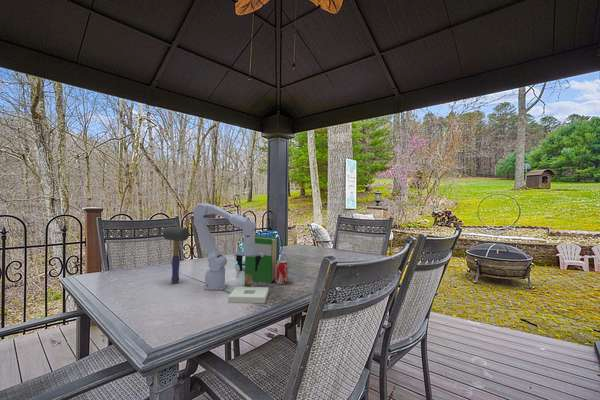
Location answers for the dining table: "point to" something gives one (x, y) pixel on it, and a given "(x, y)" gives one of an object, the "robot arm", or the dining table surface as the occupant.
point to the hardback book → (263, 259)
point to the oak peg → (248, 280)
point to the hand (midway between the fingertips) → (248, 270)
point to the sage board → (248, 295)
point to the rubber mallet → (175, 247)
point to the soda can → (281, 272)
